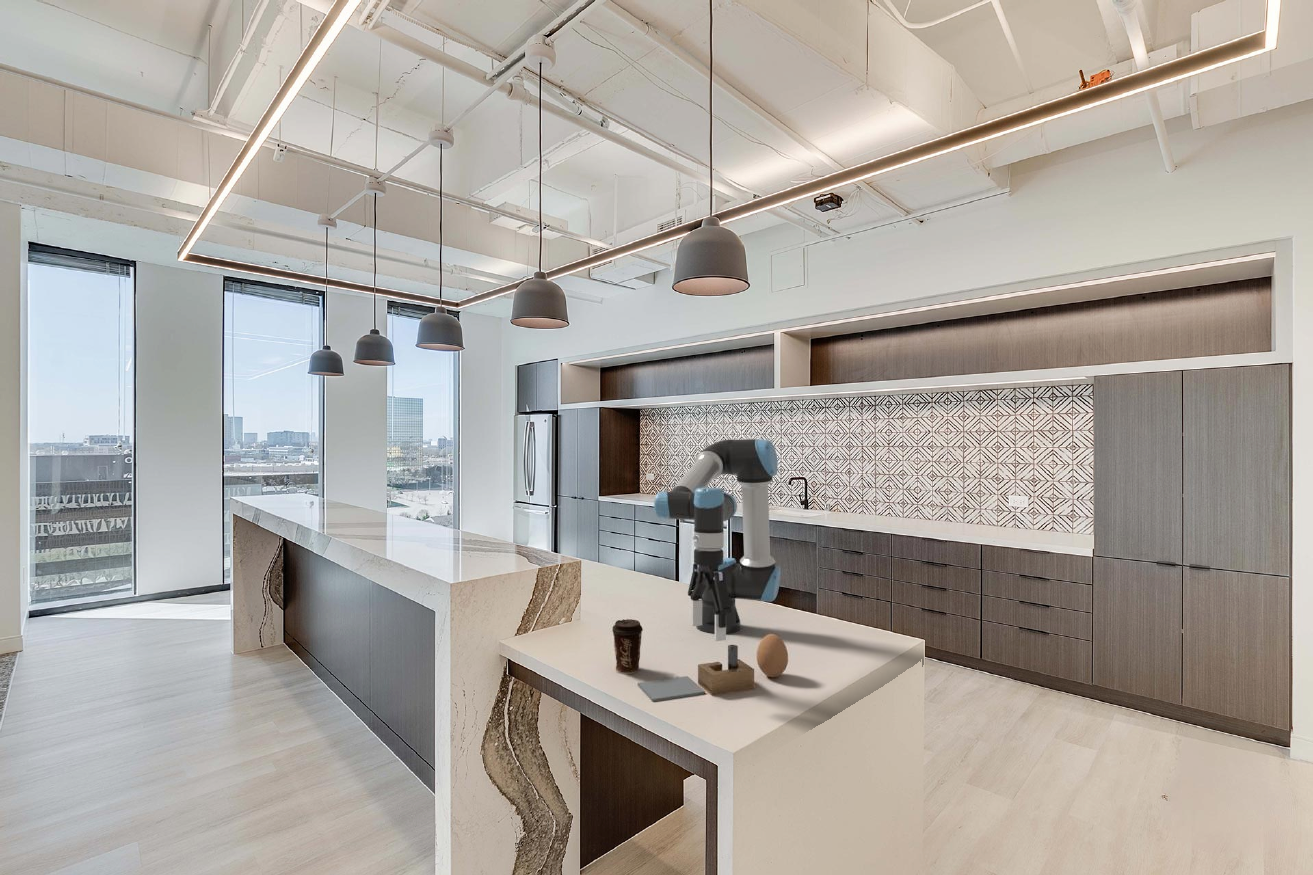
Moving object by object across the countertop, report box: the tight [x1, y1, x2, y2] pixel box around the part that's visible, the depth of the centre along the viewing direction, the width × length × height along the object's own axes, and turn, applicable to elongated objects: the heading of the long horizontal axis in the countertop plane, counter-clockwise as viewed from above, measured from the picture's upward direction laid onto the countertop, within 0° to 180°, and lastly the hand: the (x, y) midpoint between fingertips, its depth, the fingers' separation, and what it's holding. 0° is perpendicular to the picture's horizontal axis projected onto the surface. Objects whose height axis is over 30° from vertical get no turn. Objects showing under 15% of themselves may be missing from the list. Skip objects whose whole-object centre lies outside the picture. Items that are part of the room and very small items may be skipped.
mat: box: [637, 675, 706, 702], centre depth 155 cm, size 14×11×1 cm
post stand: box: [727, 644, 739, 670], centre depth 158 cm, size 3×3×10 cm
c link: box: [697, 658, 755, 696], centre depth 157 cm, size 12×8×5 cm, turn 111°
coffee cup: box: [612, 618, 644, 675], centre depth 169 cm, size 9×8×13 cm
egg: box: [756, 633, 789, 678], centre depth 164 cm, size 8×8×11 cm
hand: (708, 632), depth 155 cm, fingers open, 13 cm apart
